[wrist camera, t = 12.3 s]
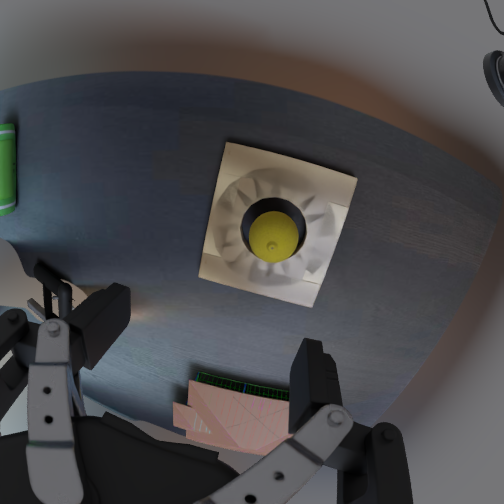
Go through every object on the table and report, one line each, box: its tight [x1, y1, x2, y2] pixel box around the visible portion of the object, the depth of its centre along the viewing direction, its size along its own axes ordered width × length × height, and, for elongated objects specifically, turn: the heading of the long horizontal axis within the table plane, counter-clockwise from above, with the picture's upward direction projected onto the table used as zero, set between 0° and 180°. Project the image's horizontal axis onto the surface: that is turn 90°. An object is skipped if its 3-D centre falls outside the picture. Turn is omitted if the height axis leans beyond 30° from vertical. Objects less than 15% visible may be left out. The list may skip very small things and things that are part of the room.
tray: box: [198, 142, 358, 308], centre depth 34 cm, size 18×16×2 cm
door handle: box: [27, 263, 74, 321], centre depth 44 cm, size 3×20×16 cm
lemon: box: [249, 211, 299, 263], centre depth 31 cm, size 6×6×8 cm
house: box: [173, 371, 293, 456], centre depth 44 cm, size 23×33×8 cm
